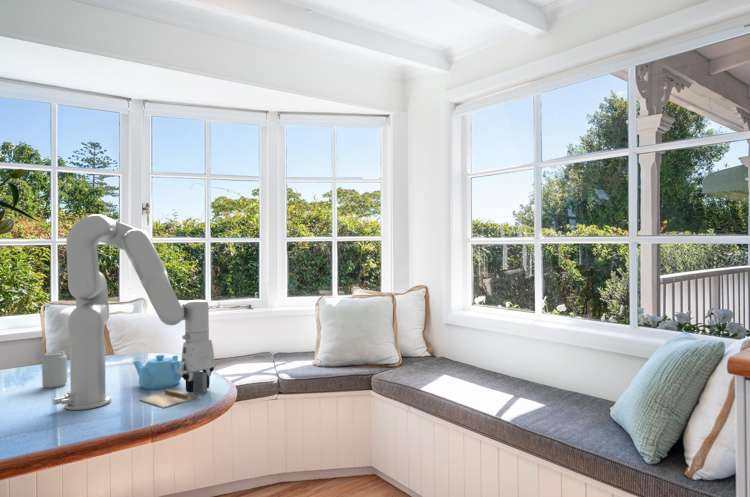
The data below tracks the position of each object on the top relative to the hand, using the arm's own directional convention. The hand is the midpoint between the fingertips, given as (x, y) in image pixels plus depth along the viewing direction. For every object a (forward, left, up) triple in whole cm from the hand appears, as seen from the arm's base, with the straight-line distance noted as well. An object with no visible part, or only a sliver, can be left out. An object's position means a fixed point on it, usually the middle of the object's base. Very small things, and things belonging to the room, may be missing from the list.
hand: (197, 389), depth 164 cm
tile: (0, 0, -1) cm, 1 cm away
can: (-24, +51, -1) cm, 56 cm away
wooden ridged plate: (-10, +1, -1) cm, 10 cm away
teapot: (-2, +20, -1) cm, 20 cm away
